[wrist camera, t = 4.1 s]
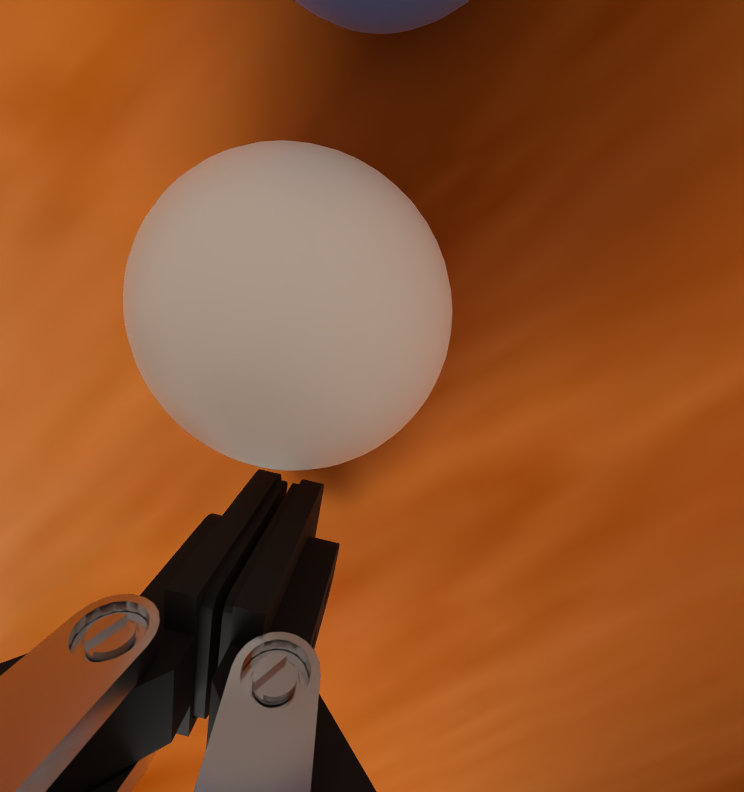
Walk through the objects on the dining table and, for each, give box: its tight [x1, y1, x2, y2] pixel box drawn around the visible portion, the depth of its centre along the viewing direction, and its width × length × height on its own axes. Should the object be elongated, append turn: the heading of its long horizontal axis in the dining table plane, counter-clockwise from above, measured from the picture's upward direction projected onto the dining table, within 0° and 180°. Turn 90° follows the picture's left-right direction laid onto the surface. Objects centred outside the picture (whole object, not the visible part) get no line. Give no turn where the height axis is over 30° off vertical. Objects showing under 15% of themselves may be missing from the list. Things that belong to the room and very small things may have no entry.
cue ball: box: [123, 140, 453, 471], centre depth 7 cm, size 6×6×6 cm
